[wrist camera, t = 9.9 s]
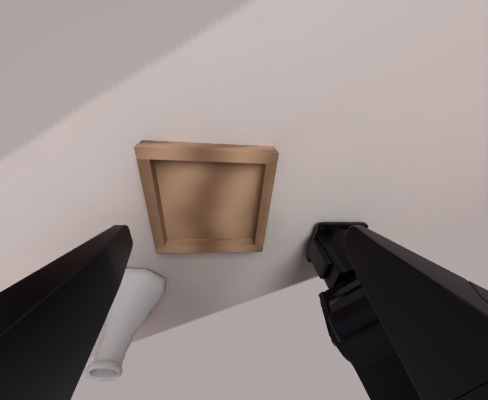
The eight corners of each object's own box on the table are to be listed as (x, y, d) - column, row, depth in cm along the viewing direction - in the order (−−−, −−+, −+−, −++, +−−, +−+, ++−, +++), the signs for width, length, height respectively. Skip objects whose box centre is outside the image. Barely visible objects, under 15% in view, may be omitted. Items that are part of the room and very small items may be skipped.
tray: (273, 146, 19) (278, 153, 17) (259, 240, 25) (262, 251, 24) (142, 140, 18) (134, 147, 16) (161, 240, 24) (156, 253, 22)
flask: (157, 303, 30) (132, 391, 22) (105, 292, 28) (54, 386, 19) (174, 274, 27) (152, 363, 19) (117, 259, 25) (64, 353, 16)
